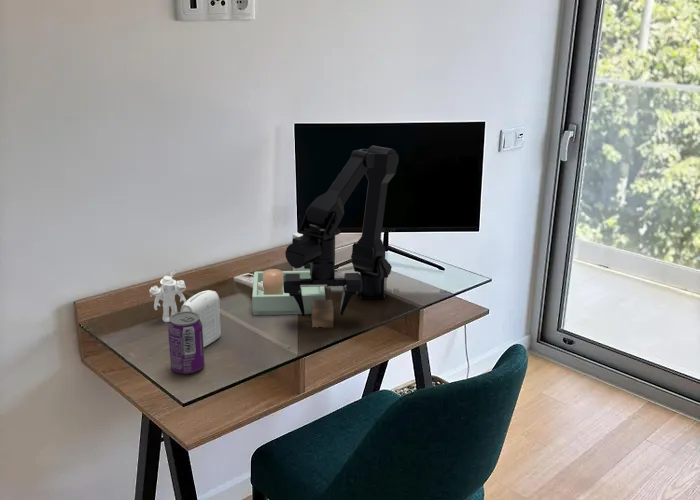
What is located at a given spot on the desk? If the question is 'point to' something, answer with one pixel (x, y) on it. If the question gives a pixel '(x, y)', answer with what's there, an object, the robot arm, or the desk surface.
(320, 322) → the walnut block
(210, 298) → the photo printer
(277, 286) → the terracotta cylinder
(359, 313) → the desk surface
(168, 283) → the flower shoulder figurine
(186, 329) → the beverage can
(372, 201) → the robot arm
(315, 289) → the tote
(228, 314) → the desk surface
